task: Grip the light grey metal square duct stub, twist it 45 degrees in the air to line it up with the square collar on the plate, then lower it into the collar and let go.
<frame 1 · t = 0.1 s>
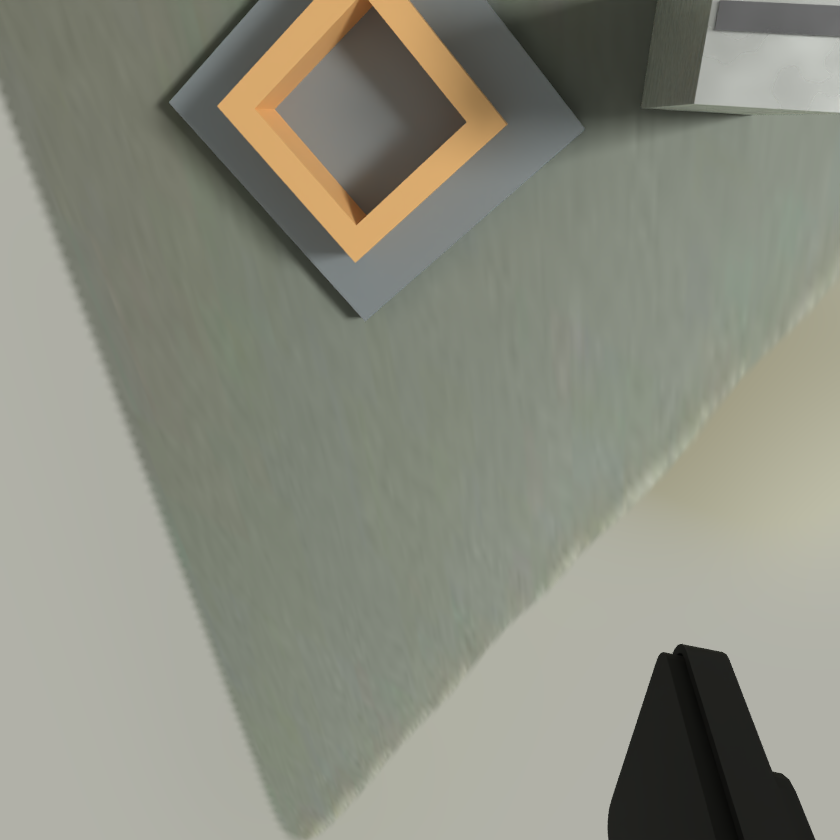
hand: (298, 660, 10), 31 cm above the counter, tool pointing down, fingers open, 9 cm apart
collar plate: (375, 115, 37), on the counter
duct stub: (706, 51, 34), on the counter
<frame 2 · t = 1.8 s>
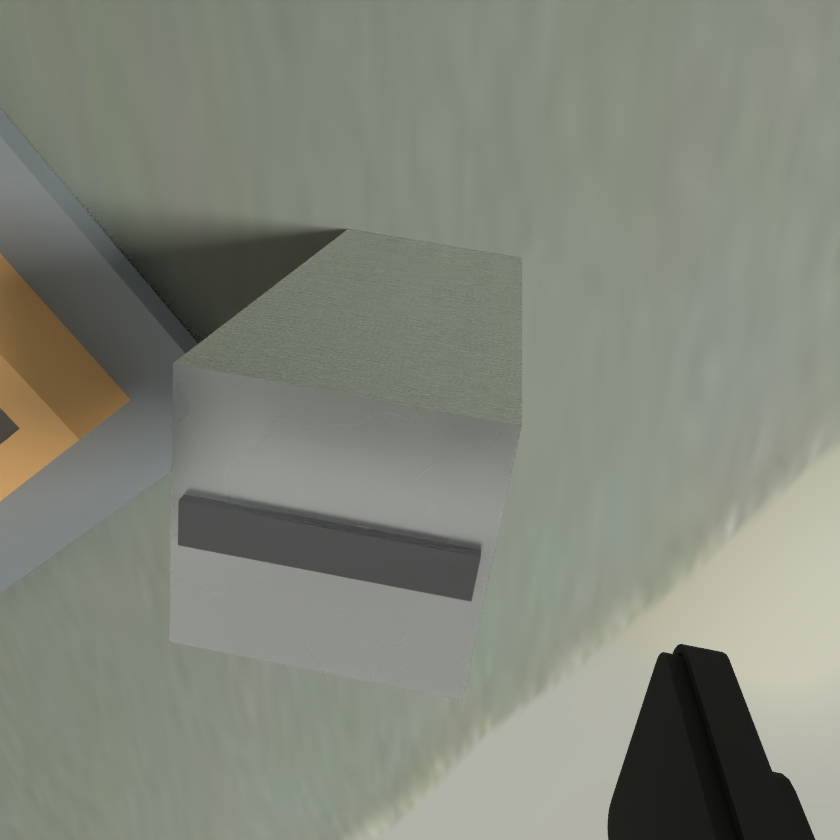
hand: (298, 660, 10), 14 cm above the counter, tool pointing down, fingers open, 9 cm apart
duct stub: (421, 327, 23), on the counter
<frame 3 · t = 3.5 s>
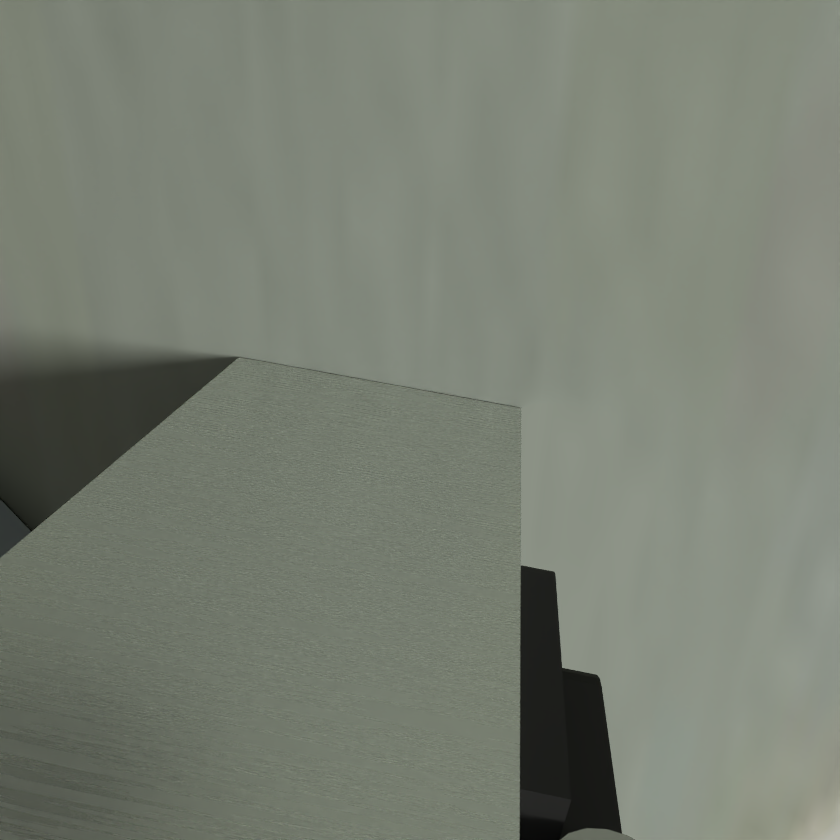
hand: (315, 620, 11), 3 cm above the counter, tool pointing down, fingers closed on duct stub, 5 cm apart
duct stub: (361, 508, 14), on the counter, touching gripper
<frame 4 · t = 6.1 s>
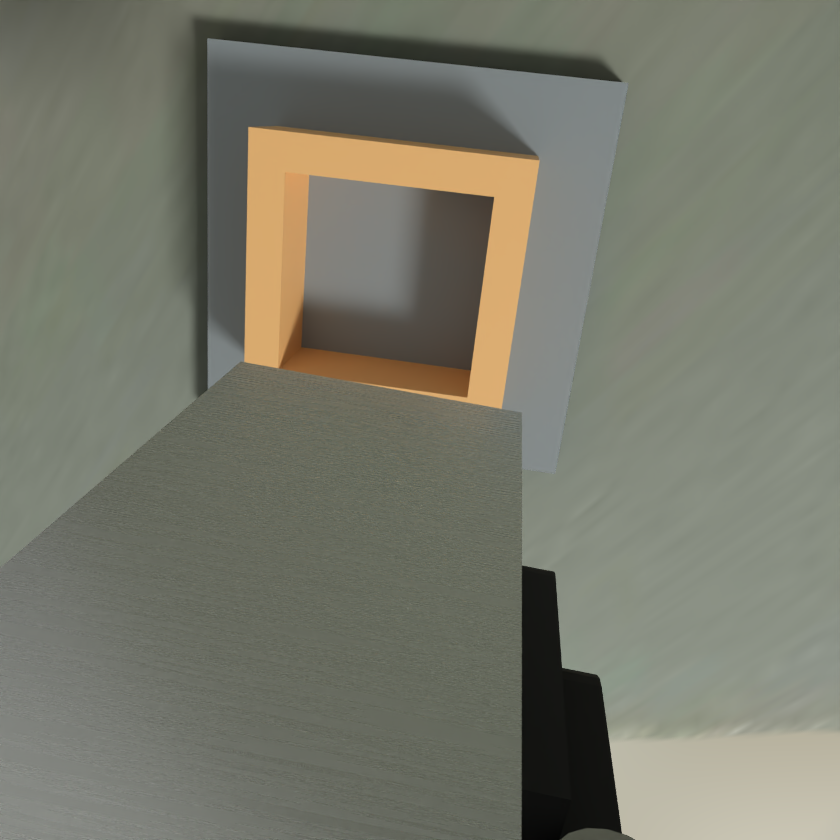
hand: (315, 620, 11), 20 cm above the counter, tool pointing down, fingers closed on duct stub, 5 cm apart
collar plate: (398, 267, 29), on the counter
duct stub: (362, 511, 14), point 16 cm above the counter, touching gripper
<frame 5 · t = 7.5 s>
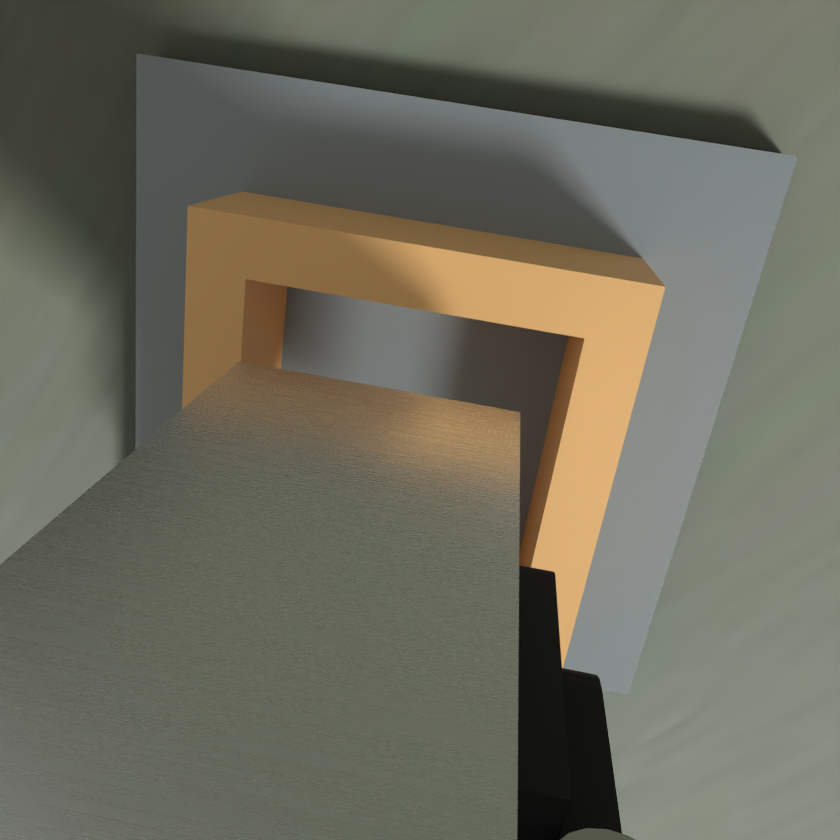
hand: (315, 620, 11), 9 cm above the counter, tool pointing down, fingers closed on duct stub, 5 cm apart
collar plate: (416, 397, 20), on the counter
duct stub: (361, 511, 14), point 6 cm above the counter, touching gripper
when the fingers open (6 cm above the counter, at t = 8.9 s): duct stub drops 1 cm, resting on collar plate.
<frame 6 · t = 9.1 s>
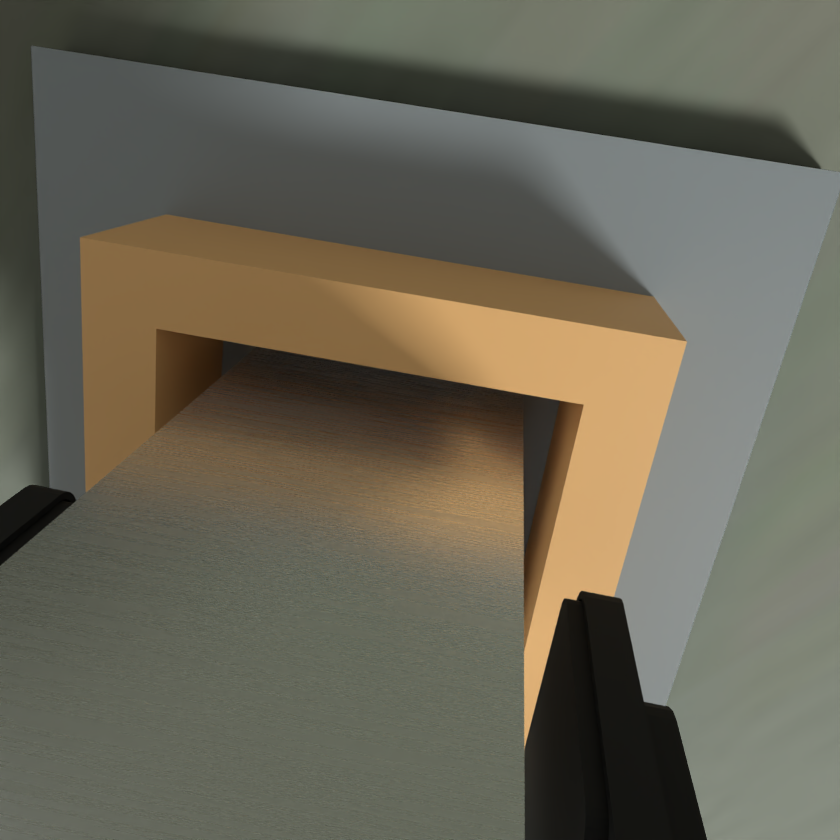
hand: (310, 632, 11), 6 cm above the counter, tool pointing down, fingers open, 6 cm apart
collar plate: (383, 455, 17), on the counter
duct stub: (378, 476, 16), point 1 cm above the counter, touching collar plate
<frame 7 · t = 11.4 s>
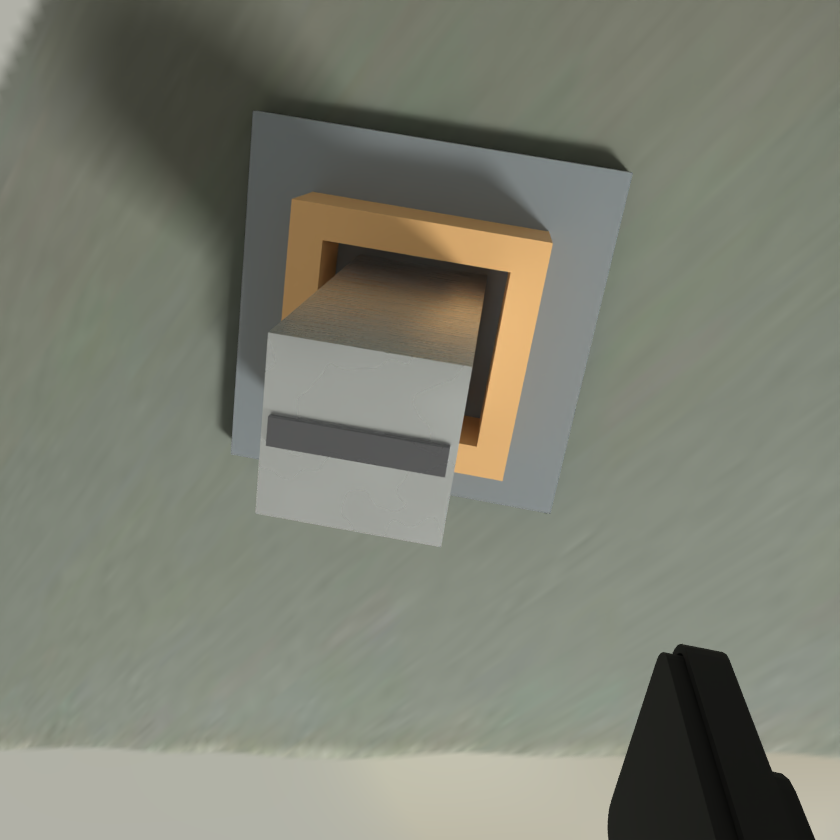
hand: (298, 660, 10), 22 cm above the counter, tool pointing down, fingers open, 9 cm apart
collar plate: (415, 321, 31), on the counter
duct stub: (414, 327, 31), point 1 cm above the counter, touching collar plate
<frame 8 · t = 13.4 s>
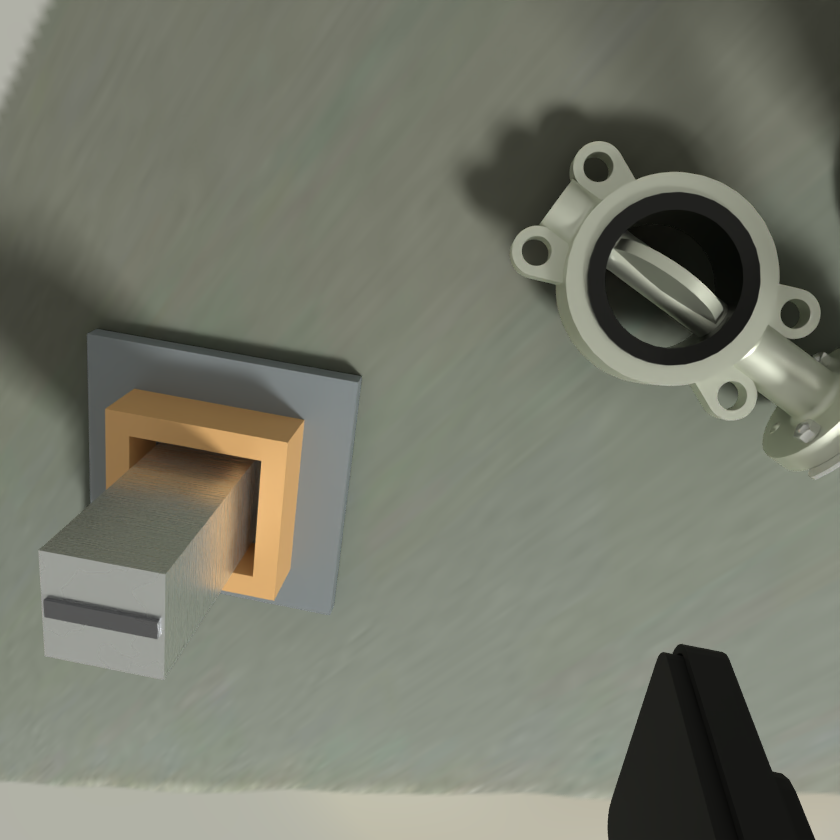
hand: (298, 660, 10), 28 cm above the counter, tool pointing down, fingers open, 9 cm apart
collar plate: (221, 474, 42), on the counter
duct stub: (216, 482, 41), point 1 cm above the counter, touching collar plate
butterfly valve: (689, 294, 36), on the counter
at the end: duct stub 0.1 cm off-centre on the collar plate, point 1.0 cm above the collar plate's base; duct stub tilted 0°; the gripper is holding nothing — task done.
